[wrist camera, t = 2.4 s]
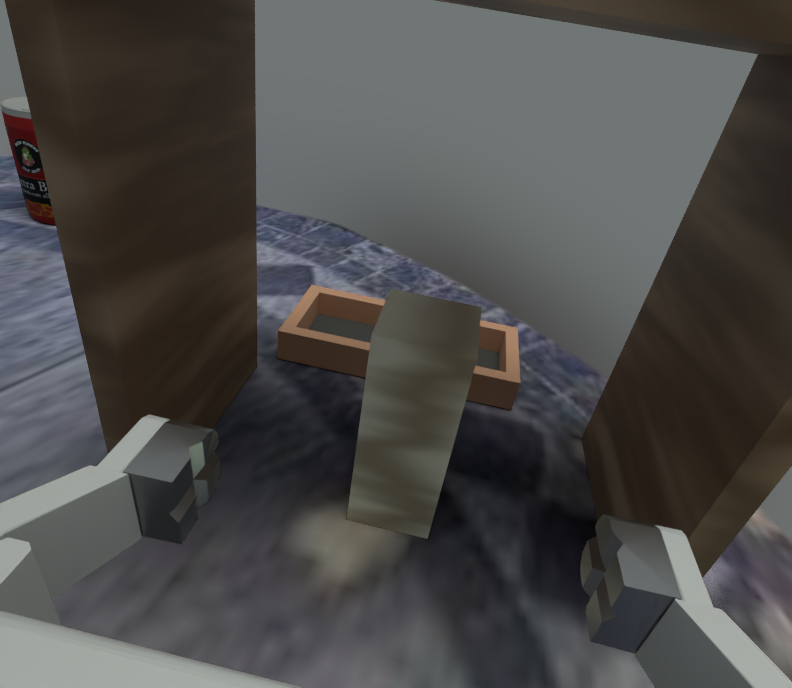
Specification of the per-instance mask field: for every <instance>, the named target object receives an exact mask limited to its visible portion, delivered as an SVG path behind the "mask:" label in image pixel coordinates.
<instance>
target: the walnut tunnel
mask: <svg viewBox="0 0 792 688" xmlns="http://www.w3.org/2000/svg"><path fill="white" fill-rule="evenodd" d="M437 1H443V2H448V3H455V4H461V5H467V6H472V7H479V8H485V9H491V10H496V11H502V12H509V13H514V14H521V15H527V16H532V17H539V18H545V19H551V20H557V21H562V22H569V23H575V24H580V25H586V26H592V27H598V28H605V29H611V30H616V31H623V32H629V33H635V34H640V35H647V36H652V37H658V38H664V39H670V40H677V41H683V42H688V43H694V44H701V45H707V46H712V47H718V48H724V49H730V50H736V51H742V52H748V53H754V54H758V56H757V58H756V60H755V62H754V64H753V67H752V69H751V71H750V73H749V75H748V77H747V80H746V82H745V84H744V86H743V88H742V90H741V93H740V95H739V97H738V99H737V101H736V104H735V106H734V108H733V110H732V112H731V114H730V117H729V119H728V121H727V123H726V125H725V127H724V130H723V132H722V134H721V136H720V139H719V141H718V143H717V145H716V147H715V149H714V151H713V154H712V156H711V158H710V160H709V162H708V165H707V167H706V169H705V171H704V173H703V175H702V178H701V180H700V182H699V184H698V187H697V188H696V191H695V193H694V195H693V197H692V199H691V201H690V204H689V206H688V208H687V210H686V212H685V214H684V217H683V219H682V221H681V223H680V226H679V228H678V230H677V232H676V235H675V236H674V238H673V241H672V243H671V245H670V247H669V249H668V251H667V254H666V256H665V258H664V260H663V262H662V265H661V267H660V269H659V271H658V273H657V276H656V278H655V280H654V282H653V284H652V286H651V289H650V291H649V293H648V295H647V297H646V299H645V302H644V304H643V306H642V308H641V310H640V312H639V315H638V317H637V319H636V321H635V323H634V325H633V328H632V330H631V332H630V334H629V337H628V339H627V341H626V343H625V345H624V347H623V350H622V352H621V354H620V356H619V358H618V360H617V362H616V365H615V367H614V369H613V371H612V373H611V376H610V378H609V380H608V382H607V384H606V386H605V389H604V391H603V393H602V395H601V397H600V399H599V402H598V404H597V406H596V408H595V410H594V412H593V415H592V417H591V419H590V421H589V423H588V426H587V428H586V430H585V432H584V434H583V436H582V444H583V449H584V454H585V459H586V464H587V469H588V475H589V480H590V485H591V490H592V495H593V500H594V505H595V510H596V516H597V521H598V520H599V518H600V517H601V516H602V515H604V514H605V515H610V516H614V517H619V518H624V519H629V520H634V521H639V522H643V523H648V524H652V525H658V526H662V527H667V528H672V529H677V530H681V531H682V532H683V533H684V534H685V535H686V537H687V539H688V542H689V545H690V547H691V550H692V552H693V555H694V558H695V560H696V563H697V565H698V568H699V571H700V573H701V576H702V578H703V577H704V576H705V574H706V573H707V572H708V570H709V569H710V568H711V567H712V565H713V564H714V563H715V562H716V560H717V559H718V558H719V557H720V555H721V554H722V553H723V552H724V550H725V549H726V548H727V547H728V545H729V544H730V543H731V542H732V540H733V539H734V538H735V536H736V535H737V534H738V533H739V531H740V530H741V529H742V528H743V526H744V525H745V524H746V523H747V521H748V520H749V519H750V518H751V516H752V515H753V514H754V513H755V511H756V510H757V509H758V508H759V506H760V505H761V504H762V502H763V501H764V500H765V499H766V497H767V496H768V495H769V494H770V492H771V491H772V490H773V488H774V487H775V486H776V485H777V484H778V482H779V481H780V480H781V478H782V477H783V476H784V475H785V473H786V472H787V471H788V470H789V468H790V467H791V466H792V0H437ZM5 3H6V8H7V13H8V17H9V21H10V26H11V30H12V34H13V39H14V44H15V48H16V52H17V56H18V61H19V65H20V70H21V74H22V78H23V83H24V87H25V92H26V96H27V100H28V105H29V109H30V114H31V118H32V122H33V127H34V131H35V135H36V140H37V144H38V149H39V153H40V157H41V162H42V166H43V170H44V175H45V179H46V184H47V188H48V192H49V197H50V201H51V205H52V210H53V214H54V219H55V223H56V227H57V232H58V236H59V241H60V245H61V249H62V254H63V258H64V262H65V267H66V271H67V276H68V280H69V284H70V289H71V293H72V297H73V302H74V306H75V311H76V315H77V319H78V324H79V328H80V332H81V337H82V341H83V346H84V350H85V354H86V359H87V363H88V367H89V372H90V376H91V381H92V385H93V389H94V394H95V398H96V402H97V407H98V411H99V416H100V420H101V424H102V429H103V433H104V438H105V442H106V446H107V451H108V453H109V452H110V451H111V450H112V449H113V448H114V447H115V446H116V445H117V444H118V443H119V442H120V441H121V440H122V439H123V437H124V436H125V435H126V434H127V433H128V432H129V431H130V430H131V429H132V428H133V427H134V426H135V425H136V424H137V423H138V421H139V420H140V419H141V418H143V417H145V416H147V415H149V414H150V415H154V416H158V417H162V418H166V419H170V420H171V419H172V420H176V421H180V422H184V423H188V424H192V425H196V426H200V427H205V428H209V429H213V428H214V426H215V425H216V423H217V422H218V421H219V419H220V418H221V416H222V415H223V414H224V412H225V411H226V409H227V408H228V407H229V405H230V404H231V402H232V401H233V400H234V398H235V397H236V395H237V394H238V393H239V391H240V390H241V388H242V387H243V386H244V384H245V383H246V382H247V380H248V379H249V377H250V376H251V375H252V373H253V372H254V370H255V369H256V368H257V251H256V127H255V126H256V124H255V123H256V121H255V120H256V119H255V118H256V117H255V0H5Z"/></svg>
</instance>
